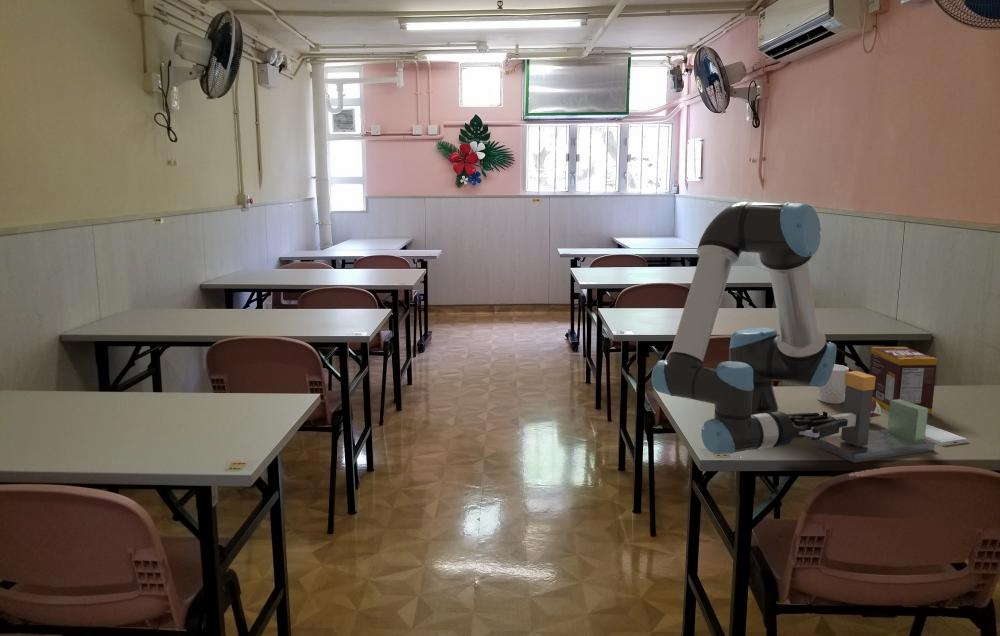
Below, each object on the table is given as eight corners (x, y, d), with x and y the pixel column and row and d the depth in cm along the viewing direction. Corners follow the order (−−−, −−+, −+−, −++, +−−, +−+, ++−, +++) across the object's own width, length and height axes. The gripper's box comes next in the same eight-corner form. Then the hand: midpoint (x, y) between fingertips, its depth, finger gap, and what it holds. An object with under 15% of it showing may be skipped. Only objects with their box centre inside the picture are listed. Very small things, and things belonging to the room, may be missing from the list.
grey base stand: (853, 462, 167) (857, 420, 166) (818, 446, 178) (821, 406, 176) (933, 450, 175) (938, 409, 174) (895, 435, 186) (899, 396, 184)
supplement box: (900, 398, 218) (905, 346, 215) (932, 414, 203) (938, 358, 200) (865, 398, 218) (870, 346, 215) (894, 414, 202) (900, 358, 200)
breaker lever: (857, 446, 171) (864, 377, 168) (839, 439, 176) (845, 372, 173) (868, 444, 172) (875, 376, 169) (850, 437, 177) (857, 370, 174)
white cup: (810, 397, 219) (813, 363, 217) (836, 396, 220) (839, 363, 218) (825, 404, 211) (828, 370, 209) (851, 404, 212) (854, 370, 210)
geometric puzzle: (842, 415, 195) (865, 394, 191) (842, 408, 201) (864, 387, 197) (864, 434, 193) (887, 413, 190) (864, 426, 199) (886, 406, 196)
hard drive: (900, 425, 190) (942, 441, 178) (925, 422, 192) (968, 438, 181) (899, 432, 190) (941, 448, 179) (924, 428, 193) (967, 444, 181)
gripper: (748, 436, 170) (830, 426, 178) (788, 456, 158) (874, 444, 166) (750, 405, 169) (833, 395, 177) (790, 422, 157) (877, 411, 165)
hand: (853, 419), depth 171 cm, fingers closed
